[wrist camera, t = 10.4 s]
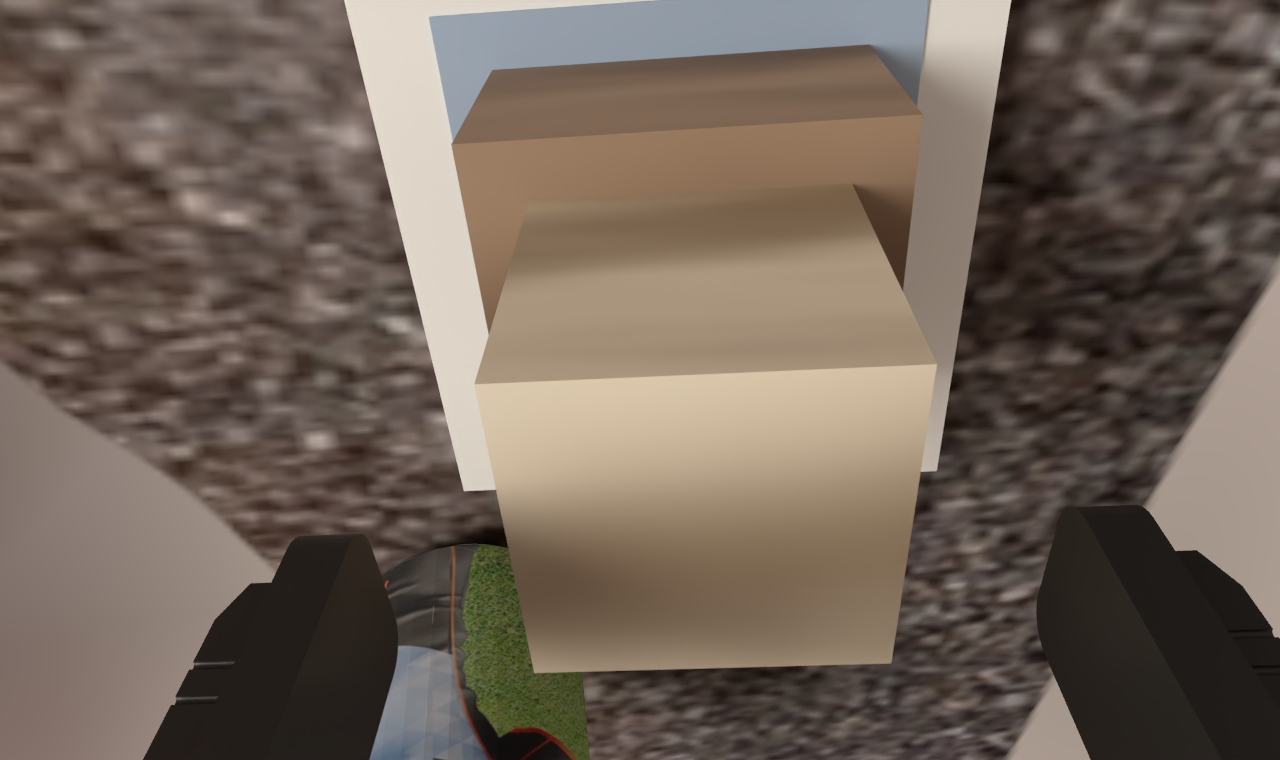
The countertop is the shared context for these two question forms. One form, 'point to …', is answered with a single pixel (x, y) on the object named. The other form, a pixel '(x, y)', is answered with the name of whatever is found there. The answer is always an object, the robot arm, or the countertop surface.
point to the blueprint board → (654, 29)
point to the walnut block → (685, 139)
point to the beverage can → (471, 668)
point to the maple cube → (705, 430)
